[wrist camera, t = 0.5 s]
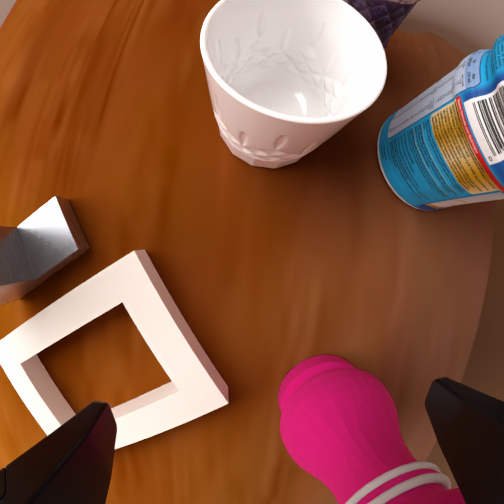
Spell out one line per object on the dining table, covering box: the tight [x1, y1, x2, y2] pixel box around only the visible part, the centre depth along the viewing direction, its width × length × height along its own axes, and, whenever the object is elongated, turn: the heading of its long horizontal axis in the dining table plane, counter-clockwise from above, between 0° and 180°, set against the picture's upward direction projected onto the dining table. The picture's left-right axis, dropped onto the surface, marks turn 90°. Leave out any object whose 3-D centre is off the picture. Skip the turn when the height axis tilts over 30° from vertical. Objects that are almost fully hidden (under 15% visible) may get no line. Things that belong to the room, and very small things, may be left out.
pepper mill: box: [278, 355, 466, 504], centre depth 11 cm, size 7×7×20 cm
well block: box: [0, 250, 228, 449], centre depth 19 cm, size 11×15×2 cm
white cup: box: [200, 0, 387, 169], centre depth 15 cm, size 8×8×10 cm
